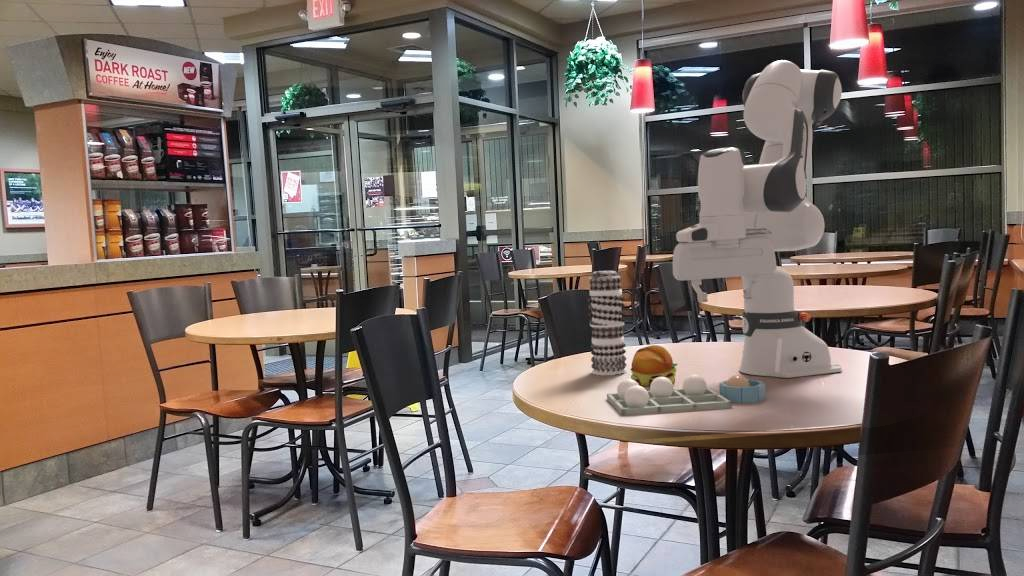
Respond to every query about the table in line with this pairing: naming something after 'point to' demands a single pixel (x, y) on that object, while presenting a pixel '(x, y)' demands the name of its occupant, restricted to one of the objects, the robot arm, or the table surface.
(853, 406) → the table surface
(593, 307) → the black white tall cylinder
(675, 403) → the egg carton
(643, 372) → the cheeseburger
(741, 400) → the egg cup
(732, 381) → the brown egg
